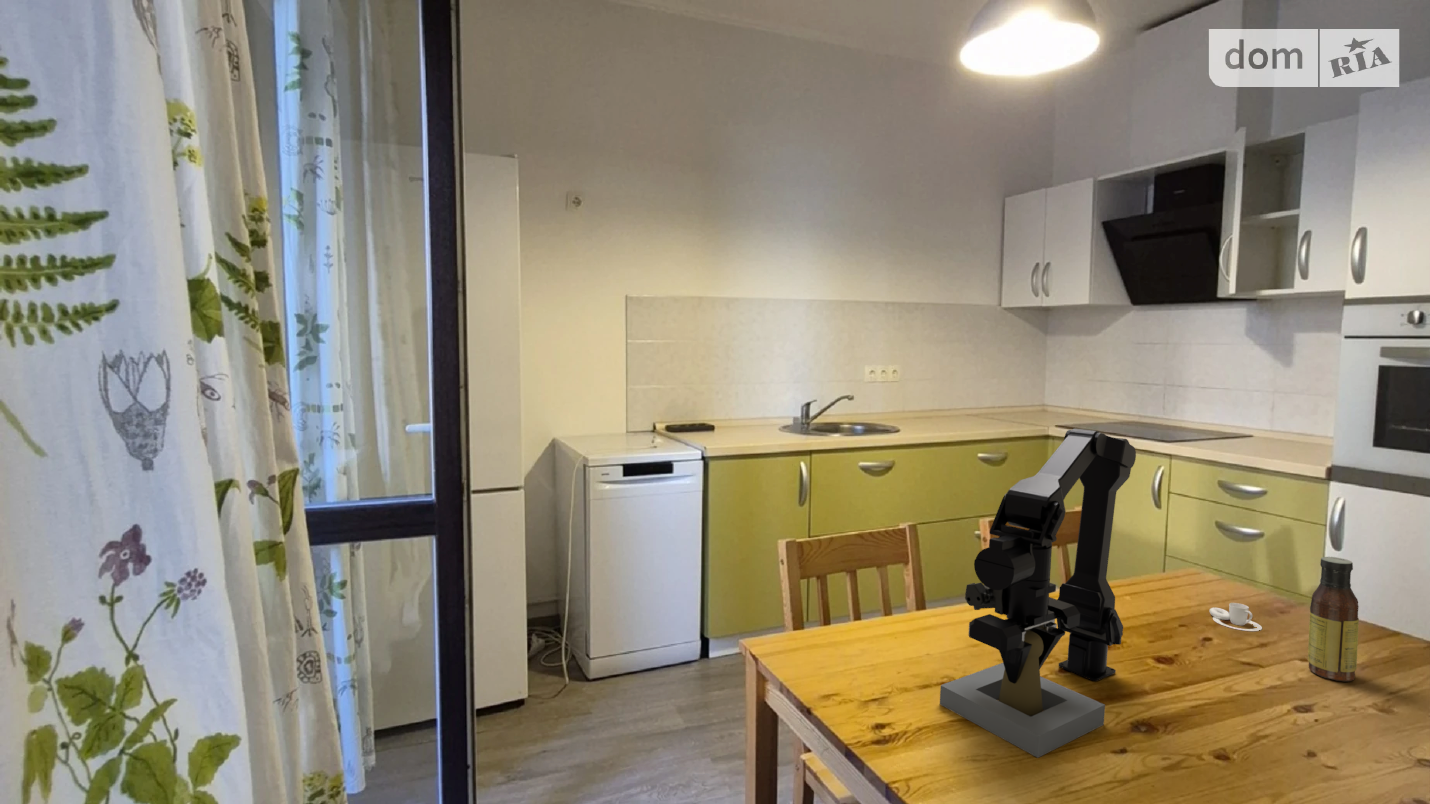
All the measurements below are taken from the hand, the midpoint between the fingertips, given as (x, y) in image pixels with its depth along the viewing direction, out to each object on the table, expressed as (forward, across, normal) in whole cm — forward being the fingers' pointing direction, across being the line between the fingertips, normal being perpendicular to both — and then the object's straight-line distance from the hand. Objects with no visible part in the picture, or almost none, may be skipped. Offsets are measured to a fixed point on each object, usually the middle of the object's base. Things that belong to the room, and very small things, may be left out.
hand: (1022, 678), depth 103 cm
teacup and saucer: (+6, -73, 0) cm, 74 cm away
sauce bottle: (+6, -58, +19) cm, 61 cm away
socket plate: (+5, 0, 0) cm, 5 cm away
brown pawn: (+4, 0, 0) cm, 4 cm away
